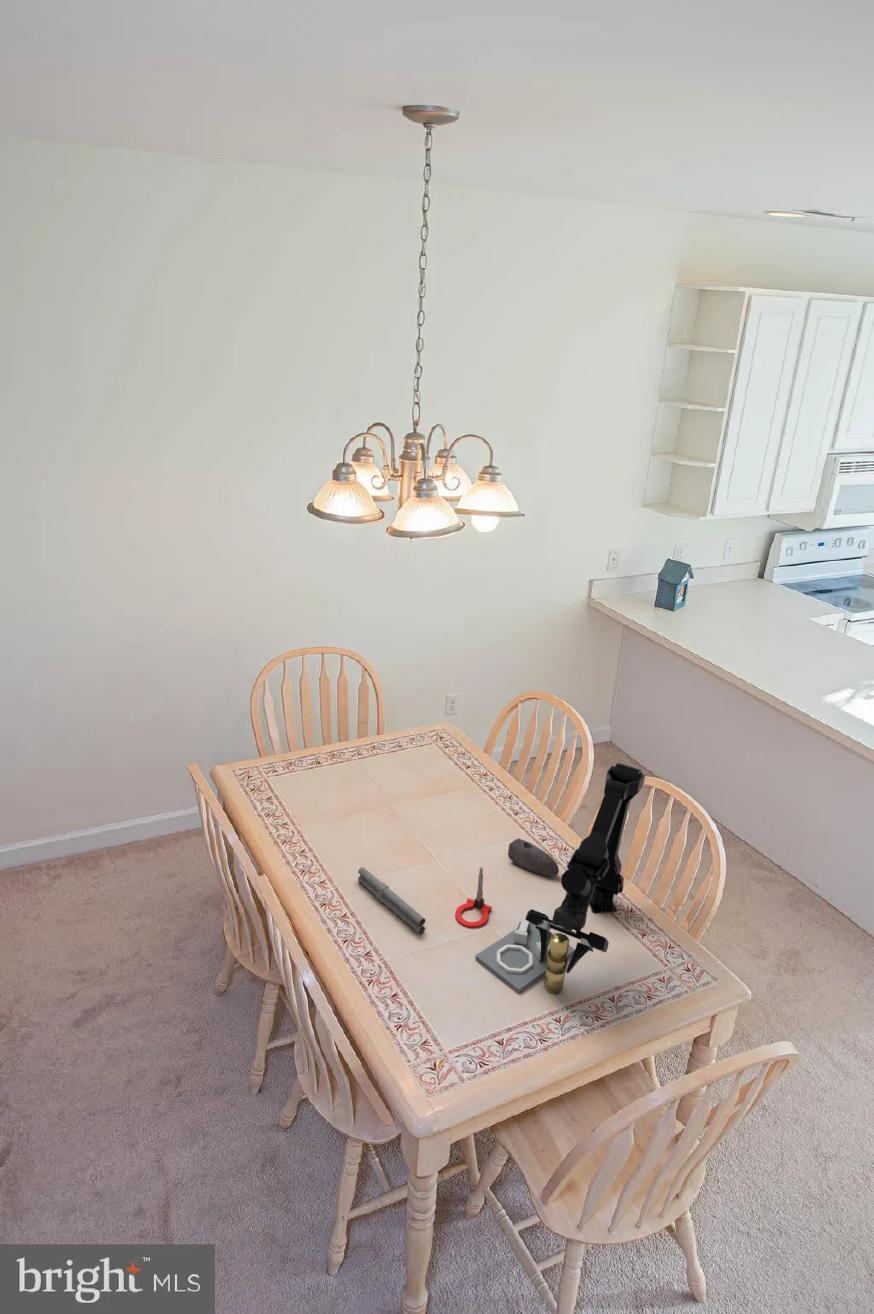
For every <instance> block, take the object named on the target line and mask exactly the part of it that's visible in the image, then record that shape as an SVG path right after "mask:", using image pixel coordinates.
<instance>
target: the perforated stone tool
mask: <svg viewBox="0 0 874 1314" xmlns="http://www.w3.org/2000/svg"><path fill="white" fill-rule="evenodd" d="M507 856H508V859H509V860H511V862H513V863H514V864H516V865H518V866H520V867H521V868H523V869H526V870H528V871H531V872H534V873H536V874H540V875H543V876H547V877H555V876H557V875H558V874H559V872H560V869H559V864H557V862H556V860H555V859H554V858H553V857H552V856H551V855H549V854H548V853H547V852H545V851H544V850H543V849H541V848H539V847H538V846H537V845H534V844H533V843H531V842H528V841H526V840H524V839H521V838H516V839H514V840H513V841H511V842H510V843H509V845H508V852H507Z"/></svg>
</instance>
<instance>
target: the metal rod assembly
mask: <svg viewBox="0 0 874 1314" xmlns="http://www.w3.org/2000/svg"><path fill="white" fill-rule="evenodd" d="M358 875H359V876H358V879H357V880H358V882H359V883H361V884H362V885H363V886H364V887H365V888H367V889H368V890H369V892H371V893H372V894H373V895H374V896H376V899H378V901H380V902H381V903H382V904H384V905H385V906H387V908H389V909H390V910H391V911H392V912H394V913H395V914H396V915H397V916H398V917H399V918H401V920H403V921H404V922H406V924H407V925H408V926H410V928H412V929H413V930H414V931H416V932H417V933H418V934H419V935H420V934H421V933H422V934H423V933H424V932H425V930H426V927H425V926H424V925H425V923H426V918H425V917H423V916H422V915H421V914H420V913H419V912H418V911H416V910H415V909H414V908H413V907H412V906H411V905H409V904H408V903H407V902H406V901H405V900H403V899H402V898H401V897H400V896H399V895H398V894H396V893H395V892H394V891H393V890H392V889H390V886H389V885H387V884H386V883H385V882H382V881H380V880H379V878H377V877H376V876H375V875H374V874H372V873H371V872H370V871H369V870H367V869H366V868H365V867H363V866H361V867H360V868H359V869H358Z"/></svg>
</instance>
